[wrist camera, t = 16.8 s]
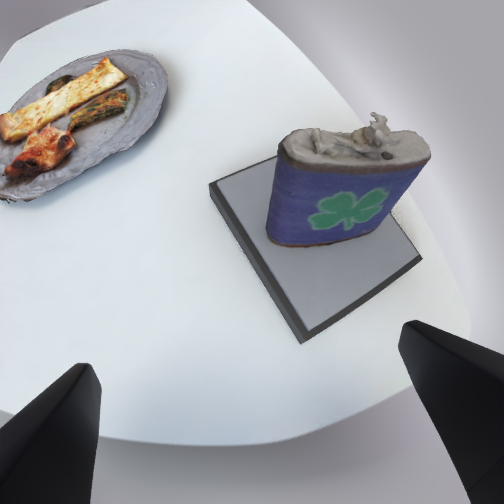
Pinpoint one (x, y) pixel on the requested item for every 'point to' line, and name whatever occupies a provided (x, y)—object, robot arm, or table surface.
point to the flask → (340, 182)
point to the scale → (310, 256)
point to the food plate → (77, 120)
